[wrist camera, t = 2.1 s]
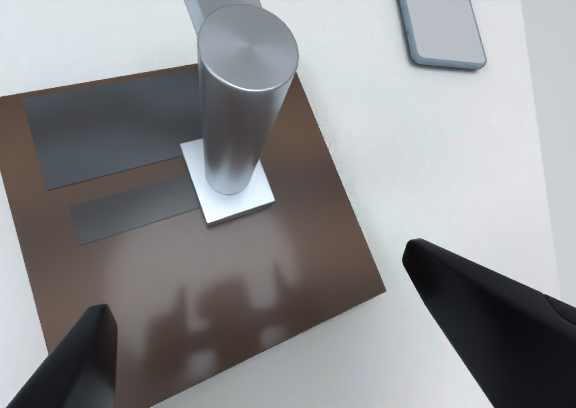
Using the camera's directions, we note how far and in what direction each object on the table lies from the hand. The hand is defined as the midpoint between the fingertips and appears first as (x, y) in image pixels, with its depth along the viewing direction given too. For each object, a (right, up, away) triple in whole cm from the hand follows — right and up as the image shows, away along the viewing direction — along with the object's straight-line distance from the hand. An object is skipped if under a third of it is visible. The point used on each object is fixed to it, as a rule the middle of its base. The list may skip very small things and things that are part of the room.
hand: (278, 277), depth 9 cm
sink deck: (-6, +2, +12) cm, 13 cm away
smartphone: (+15, +23, +22) cm, 35 cm away
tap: (-5, +6, +12) cm, 14 cm away
